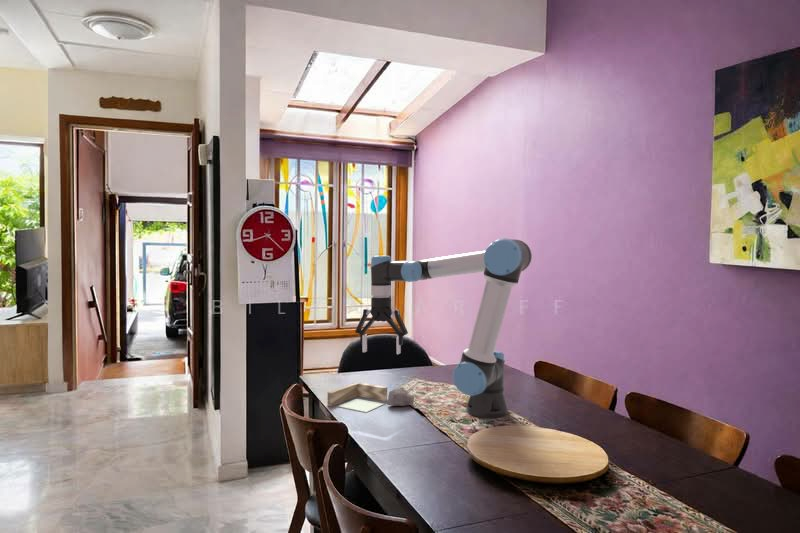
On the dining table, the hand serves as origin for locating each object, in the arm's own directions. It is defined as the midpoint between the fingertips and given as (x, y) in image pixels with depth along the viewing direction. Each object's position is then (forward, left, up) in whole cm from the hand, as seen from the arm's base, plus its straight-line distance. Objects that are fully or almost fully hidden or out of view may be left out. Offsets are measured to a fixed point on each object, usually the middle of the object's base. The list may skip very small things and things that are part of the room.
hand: (381, 352), depth 199 cm
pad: (+6, +5, -20) cm, 21 cm away
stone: (-4, 0, -20) cm, 20 cm away
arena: (+6, +3, -20) cm, 21 cm away
